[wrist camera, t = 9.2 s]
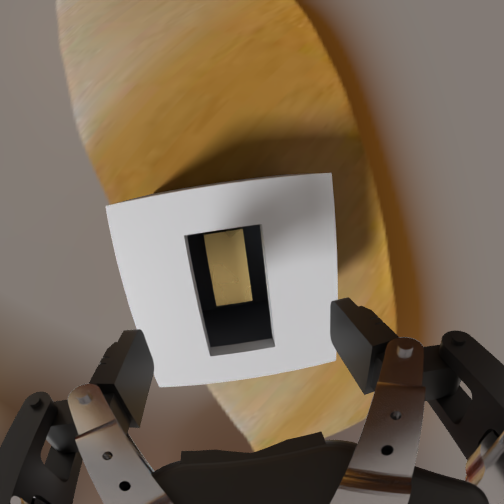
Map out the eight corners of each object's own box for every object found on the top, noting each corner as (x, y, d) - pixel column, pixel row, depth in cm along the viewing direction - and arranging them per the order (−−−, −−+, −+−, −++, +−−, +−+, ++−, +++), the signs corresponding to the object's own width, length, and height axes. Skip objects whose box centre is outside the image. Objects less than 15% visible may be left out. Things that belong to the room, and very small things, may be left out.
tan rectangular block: (208, 220, 23) (203, 234, 17) (237, 216, 23) (242, 229, 17) (217, 276, 24) (216, 306, 19) (245, 272, 25) (252, 300, 19)
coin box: (150, 194, 22) (105, 206, 13) (287, 174, 23) (331, 172, 14) (177, 318, 26) (159, 387, 16) (298, 300, 27) (335, 360, 17)
